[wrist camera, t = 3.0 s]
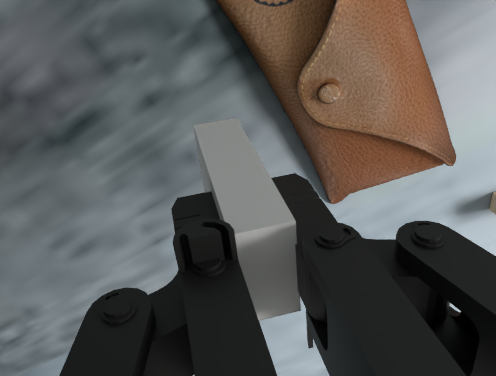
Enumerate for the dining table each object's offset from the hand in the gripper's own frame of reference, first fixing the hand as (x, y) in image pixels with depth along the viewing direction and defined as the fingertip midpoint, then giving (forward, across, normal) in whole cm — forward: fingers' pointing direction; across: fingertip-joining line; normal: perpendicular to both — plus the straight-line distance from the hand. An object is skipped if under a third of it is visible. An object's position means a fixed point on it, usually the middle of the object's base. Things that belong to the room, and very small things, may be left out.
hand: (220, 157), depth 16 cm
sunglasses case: (+10, +8, 0) cm, 13 cm away
